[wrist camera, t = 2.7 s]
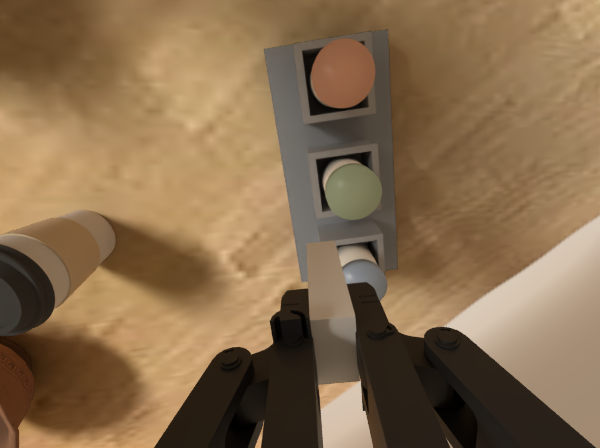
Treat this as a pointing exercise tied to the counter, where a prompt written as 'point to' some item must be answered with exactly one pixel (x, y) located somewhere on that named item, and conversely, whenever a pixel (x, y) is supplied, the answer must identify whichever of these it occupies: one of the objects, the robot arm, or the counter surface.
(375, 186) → the plunger sage
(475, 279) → the counter surface
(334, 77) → the plunger terracotta
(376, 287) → the plunger blue
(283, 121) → the grey slotted block
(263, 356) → the robot arm
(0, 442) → the bowl
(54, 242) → the coffee cup
